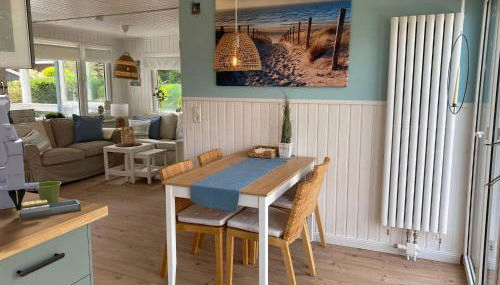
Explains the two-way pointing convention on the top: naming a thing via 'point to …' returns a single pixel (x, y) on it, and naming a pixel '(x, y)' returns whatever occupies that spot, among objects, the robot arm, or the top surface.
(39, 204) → the brass chip
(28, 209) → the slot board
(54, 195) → the plant pot
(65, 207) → the tray
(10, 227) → the top surface
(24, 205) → the brass chip
